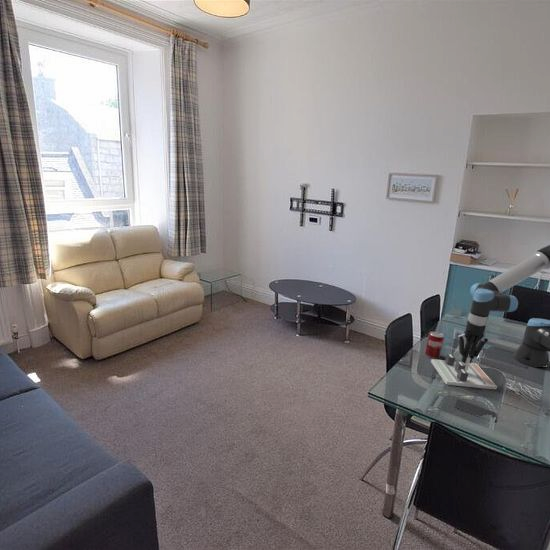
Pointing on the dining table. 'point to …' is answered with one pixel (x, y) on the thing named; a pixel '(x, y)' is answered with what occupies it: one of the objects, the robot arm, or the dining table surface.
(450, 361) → the block
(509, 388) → the dining table surface
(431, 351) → the soda can
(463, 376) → the block
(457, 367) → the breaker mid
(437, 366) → the panel
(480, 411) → the smartphone
